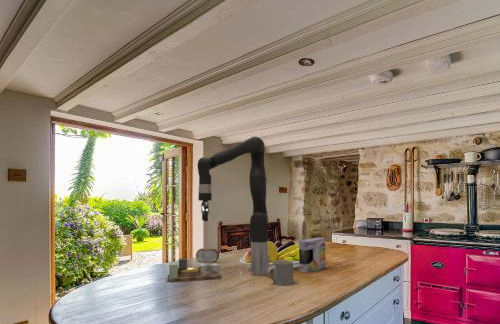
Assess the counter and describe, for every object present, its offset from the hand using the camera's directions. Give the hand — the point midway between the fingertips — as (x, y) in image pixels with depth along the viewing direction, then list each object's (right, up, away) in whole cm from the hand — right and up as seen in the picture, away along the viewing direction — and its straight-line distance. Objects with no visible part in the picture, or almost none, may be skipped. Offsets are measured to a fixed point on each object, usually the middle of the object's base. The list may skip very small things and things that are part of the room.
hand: (204, 220), depth 195 cm
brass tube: (-5, -24, -20) cm, 31 cm away
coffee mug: (+40, -26, -29) cm, 56 cm away
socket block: (-13, -25, -22) cm, 35 cm away
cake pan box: (+61, -28, -2) cm, 67 cm away
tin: (-2, -31, +24) cm, 39 cm away
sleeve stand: (-3, -26, -19) cm, 33 cm away
